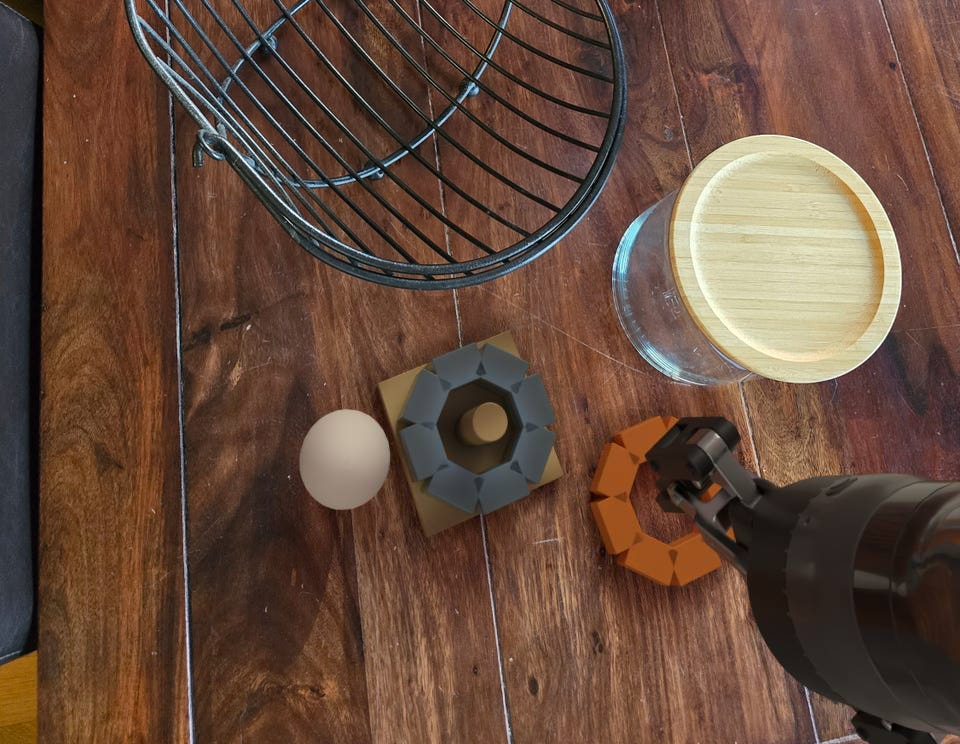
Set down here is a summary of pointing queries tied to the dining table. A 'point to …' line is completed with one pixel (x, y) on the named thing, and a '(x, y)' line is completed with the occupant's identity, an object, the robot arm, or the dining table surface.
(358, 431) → the egg
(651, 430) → the orange ring
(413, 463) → the ring stack
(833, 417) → the dining table surface
